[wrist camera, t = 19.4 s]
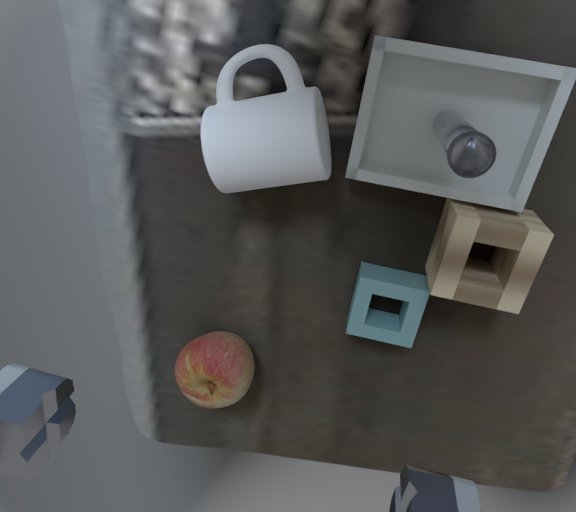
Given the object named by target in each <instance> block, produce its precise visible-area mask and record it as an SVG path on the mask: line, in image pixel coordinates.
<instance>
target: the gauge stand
mask: <svg viewBox="0 0 576 512" xmlns="http://www.w3.org/2000/svg"><path fill="white" fill-rule="evenodd" d="M372 294H375V295H380V296H384V297H389V298H393V299H398V300H402V301H403V303H402V306H401V310H400V313H399V315H398V314H394V313H389V312H385V311H380V310H376V309H371V308H369V304H370V300H371V297H372ZM429 294H430V290H429V285H428V280H427V276H426V275H421V274H417V273H412V272H407V271H403V270H398V269H393V268H389V267H384V266H379V265H374V264H370V263H365V262H361V265H360V269H359V273H358V277H357V281H356V285H355V289H354V293H353V297H352V301H351V305H350V310H349V314H348V320H347V328H346V334H351V335H355V336H360V337H364V338H368V339H373V340H377V341H381V342H386V343H390V344H394V345H399V346H403V347H407V348H412V345H413V342H414V339H415V336H416V333H417V330H418V327H419V324H420V321H421V318H422V315H423V312H424V309H425V306H426V303H427V300H428V297H429Z"/></svg>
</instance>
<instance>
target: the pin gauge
mask: <svg viewBox="0 0 576 512" xmlns="http://www.w3.org/2000/svg"><path fill="white" fill-rule="evenodd" d="M433 131H434V133H435V135H436V137H437V138H438V140H439V142H440V144H441V145H442V147H443V149H444V151H445V152H446V154H447V161H448V164H449V166H450V168H451V169H452V171H453V172H454V173H455V174H457V175H458V176H461V177H464V178H475V177H479V176H481V175H483V174H485V173H486V172H487V171H488V170H489V169H490V168H491V167H492V166H493V164H494V162H495V159H496V147H495V144H494V143H493V141H492V140H491V139H490V138H489V137H488V136H487V135H486V134H484V133H482V132H479V131H477V130H476V129H475V128H474V127H473V126H472V125H471V124H470V123H469V122H468V121H466V120H465V119H464V118H463V117H462V116H461V115H460V114H459V113H458V112H456V111H453V110H447V111H444V112H442V113H440V114H439V115H438V116H437V117H436V118H435V120H434V123H433Z"/></svg>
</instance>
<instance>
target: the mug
mask: <svg viewBox="0 0 576 512" xmlns="http://www.w3.org/2000/svg"><path fill="white" fill-rule="evenodd" d="M257 58H268V59H270V60H272V61H273V62H274V63H275V64H276V65H277V66H278V68H279V69H280V71H281V73H282V75H283V77H284V80H285V83H286V86H287V90H286V92H281V93H276V94H271V95H265V96H260V97H255V98H249V99H244V100H239V101H235V100H234V98H233V80H234V76H235V73H236V71H237V70H238V69H239V68H240V67H241V66H242V65H243V64H245V63H246V62H248V61H251V60H254V59H257ZM216 98H217V104H216V105H212V106H209V107H207V108H206V110H205V111H204V113H203V116H202V120H201V146H202V152H203V157H204V161H205V164H206V168H207V170H208V173H209V175H210V178H211V180H212V181H213V183H214V185H215V186H216V187H217V188H218V189H219V190H220V191H221V192H223V193H233V192H241V191H248V190H255V189H263V188H270V187H277V186H285V185H292V184H299V183H307V182H314V181H322V180H327V179H329V177H330V175H331V145H330V135H329V128H328V121H327V116H326V111H325V106H324V102H323V98H322V95H321V93H320V91H319V89H318V88H317V87H315V86H314V87H308V88H307V87H305V85H304V81H303V78H302V75H301V72H300V69H299V67H298V65H297V63H296V61H295V60H294V58H293V57H292V56H291V55H290V54H289V53H288V52H287V51H286V50H284V49H283V48H281V47H279V46H276V45H271V44H261V45H255V46H252V47H249V48H246V49H244V50H242V51H240V52H239V53H237V54H236V55H234V56H233V57H232V58H231V59H230V60H229V61H228V62H227V63H226V64H225V66H224V67H223V69H222V70H221V72H220V75H219V78H218V81H217V88H216Z"/></svg>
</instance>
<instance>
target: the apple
mask: <svg viewBox="0 0 576 512" xmlns="http://www.w3.org/2000/svg"><path fill="white" fill-rule="evenodd" d="M254 370H255V362H254V356H253V353H252V350H251V348H250V346H249V345H248V343H247V342H246V341H245V340H244V339H243V338H242V337H240V336H238V335H236V334H234V333H231V332H226V331H215V332H211V333H207V334H205V335H203V336H200V337H198V338H196V339H194V340H193V341H191V342H190V343H188V344H187V345H186V346H185V347H184V348H183V349H182V351H181V352H180V354H179V355H178V358H177V360H176V364H175V377H176V381H177V384H178V386H179V388H180V390H181V391H182V393H183V394H184V395H185V396H186V397H187V398H188V399H189V400H190V401H191V402H193V403H194V404H196V405H198V406H201V407H206V408H214V409H215V408H222V407H226V406H229V405H232V404H234V403H236V402H238V401H239V400H240V399H241V398H242V397H243V396H244V395H245V394H246V392H247V391H248V389H249V387H250V385H251V382H252V380H253V376H254Z"/></svg>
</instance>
